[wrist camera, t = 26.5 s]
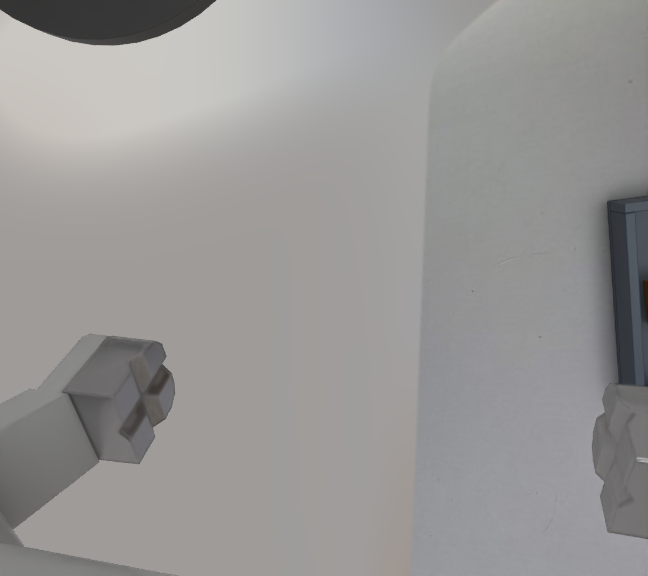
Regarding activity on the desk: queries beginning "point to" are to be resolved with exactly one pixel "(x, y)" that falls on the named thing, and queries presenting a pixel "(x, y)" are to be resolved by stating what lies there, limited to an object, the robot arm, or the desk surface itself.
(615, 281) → the tray
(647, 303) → the bar
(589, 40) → the desk surface
